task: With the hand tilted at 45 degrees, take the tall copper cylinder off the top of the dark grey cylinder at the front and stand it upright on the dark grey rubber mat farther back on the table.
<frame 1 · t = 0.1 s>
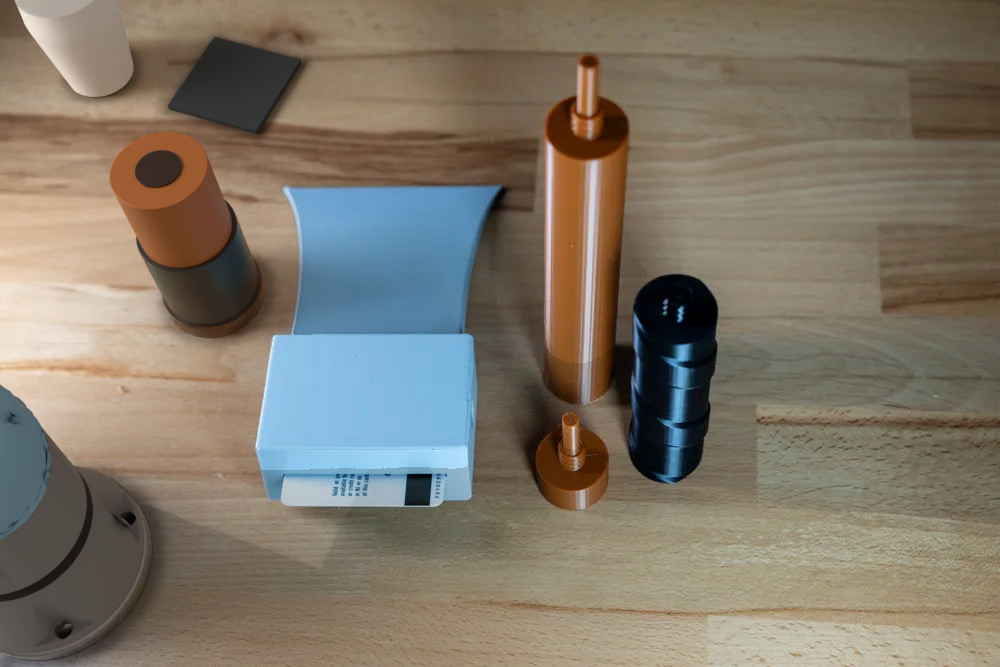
cup: (102, 75, 121), on the worktop
mat: (236, 86, 119), on the worktop
dark grey cylinder: (216, 295, 106), on the worktop
copper cylinder: (186, 230, 98), point 10 cm above the worktop, touching dark grey cylinder
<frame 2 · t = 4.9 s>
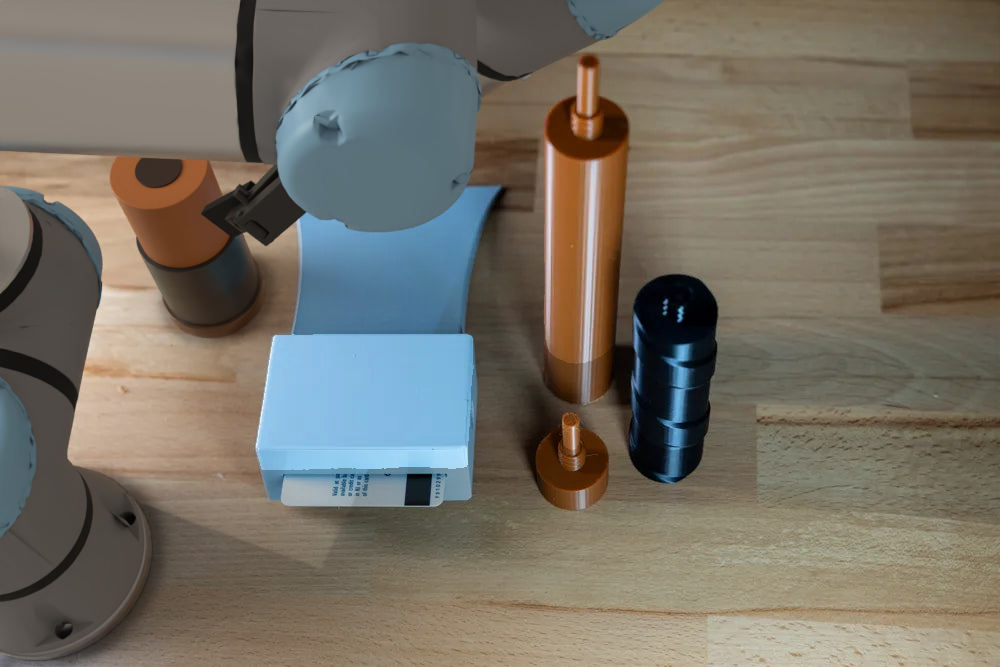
hand: (264, 147, 83), 25 cm above the worktop, tool tilted 45°, fingers open, 13 cm apart
nothing on the worktop moved.
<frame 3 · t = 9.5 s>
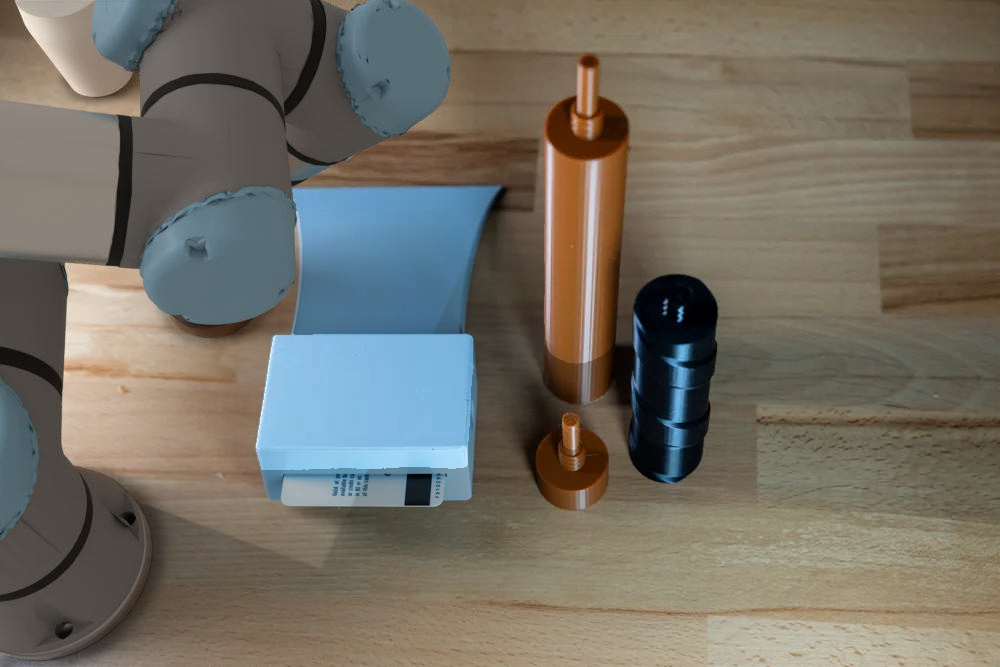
hand: (145, 209, 97), 11 cm above the worktop, tool tilted 45°, fingers closed on copper cylinder, 8 cm apart
copper cylinder: (186, 230, 98), point 10 cm above the worktop, touching gripper, dark grey cylinder
everything else where it was.
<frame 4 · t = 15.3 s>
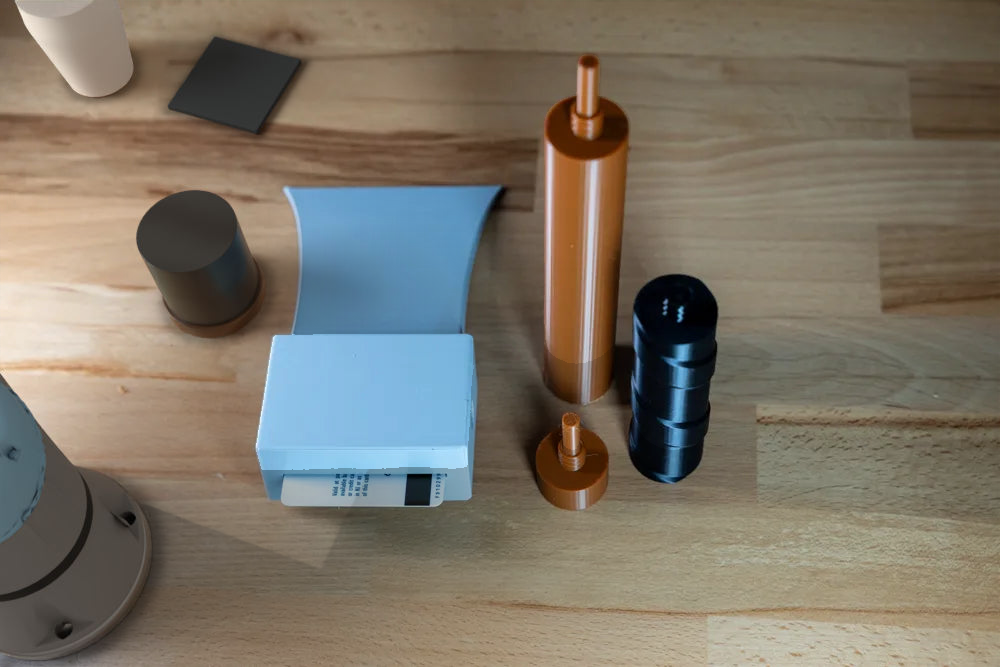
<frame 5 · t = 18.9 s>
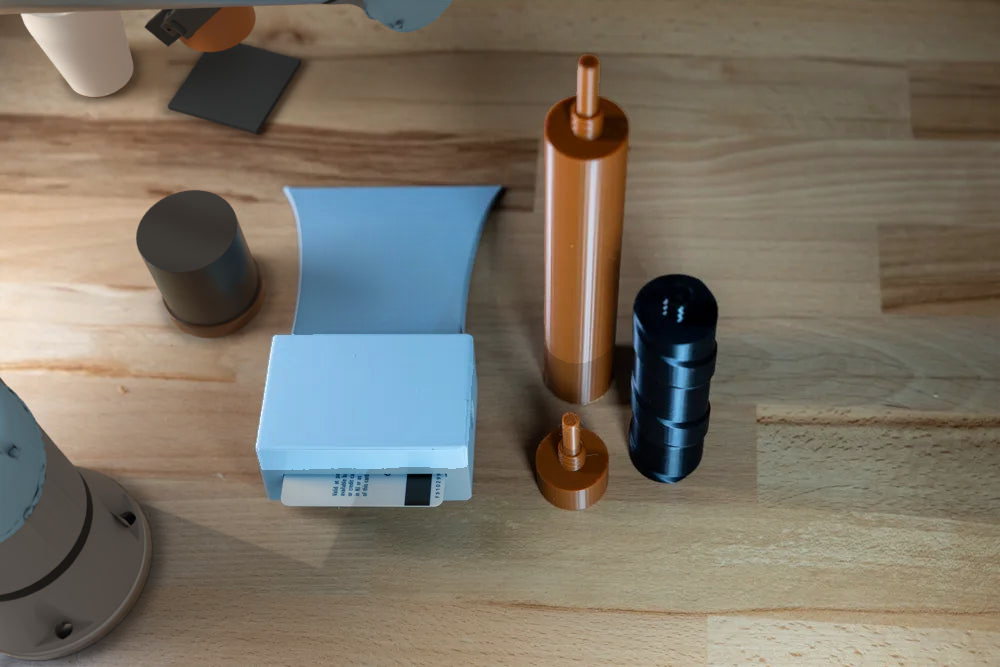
hand: (180, 3, 111), 10 cm above the worktop, tool tilted 45°, fingers closed on copper cylinder, 8 cm apart
copper cylinder: (216, 22, 112), point 9 cm above the worktop, touching gripper
everything else where it was.
when the fingers open (2 cm above the worktop, at t = 21.6 s): copper cylinder stays where it is, resting on mat.
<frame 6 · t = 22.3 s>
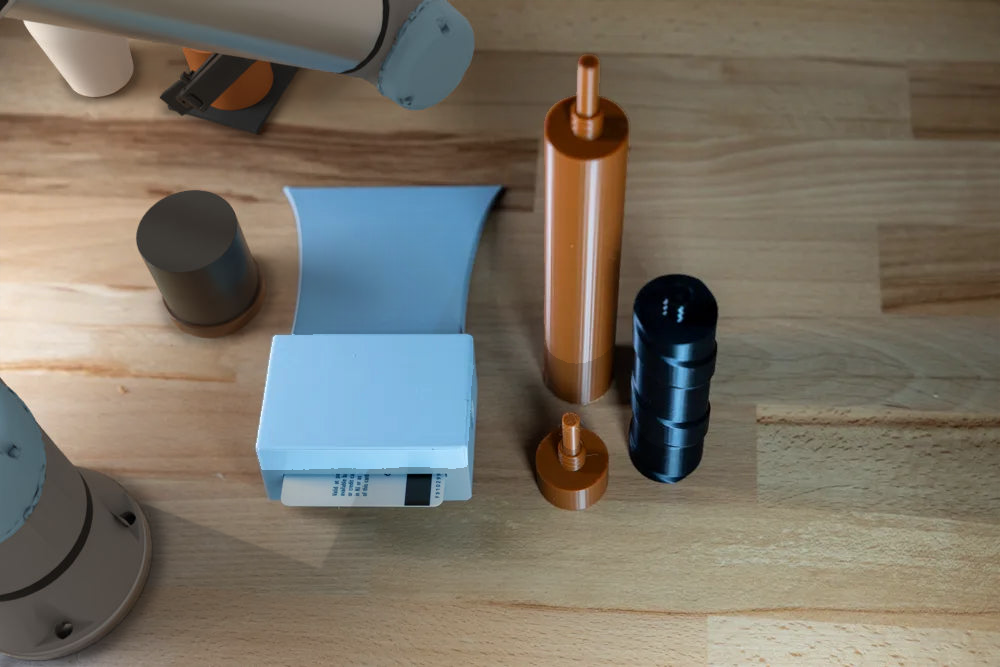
hand: (206, 54, 116), 4 cm above the worktop, tool tilted 45°, fingers open, 13 cm apart
copper cylinder: (235, 81, 118), point 1 cm above the worktop, touching mat
everything else where it was.
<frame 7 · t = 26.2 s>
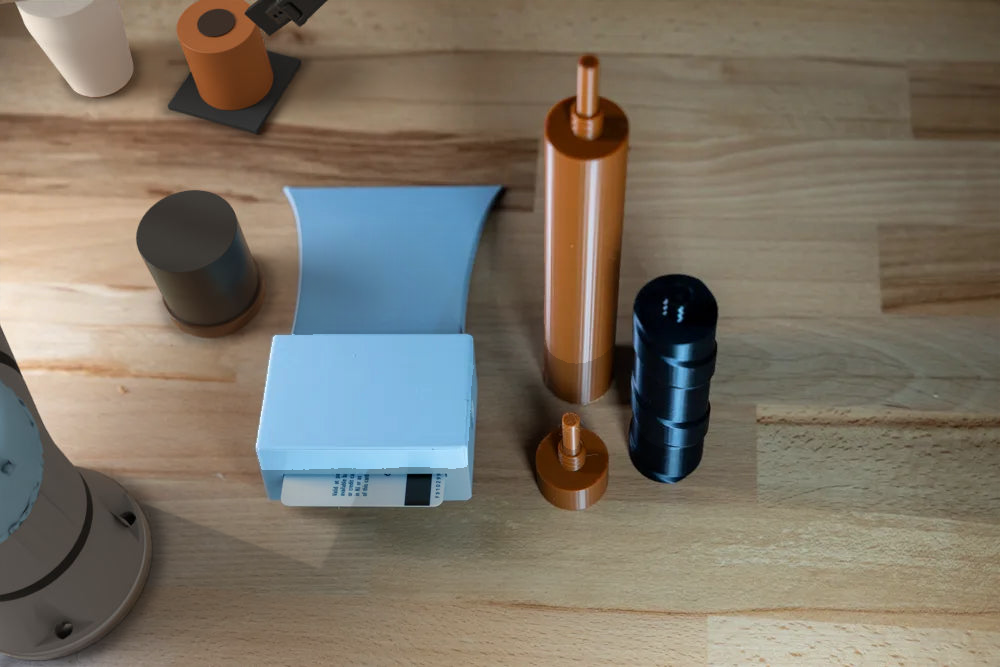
nothing on the worktop moved.
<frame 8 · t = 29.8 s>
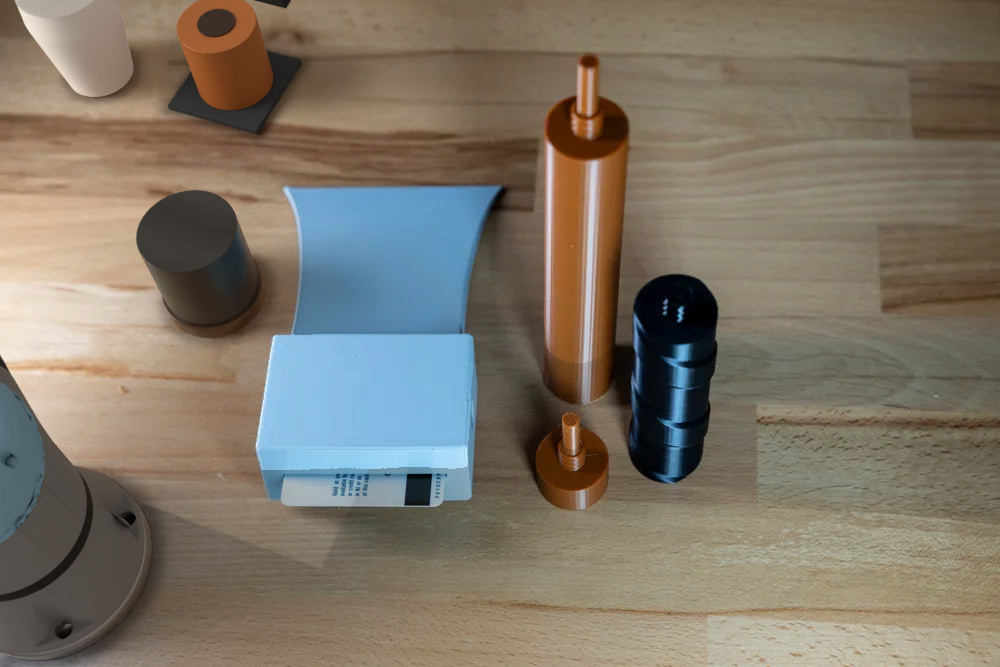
nothing on the worktop moved.
at the end: copper cylinder inside the target area on the mat (0.1 cm from its centre), point 0.6 cm above the mat's base; copper cylinder tilted 0°; copper cylinder touching mat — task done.
